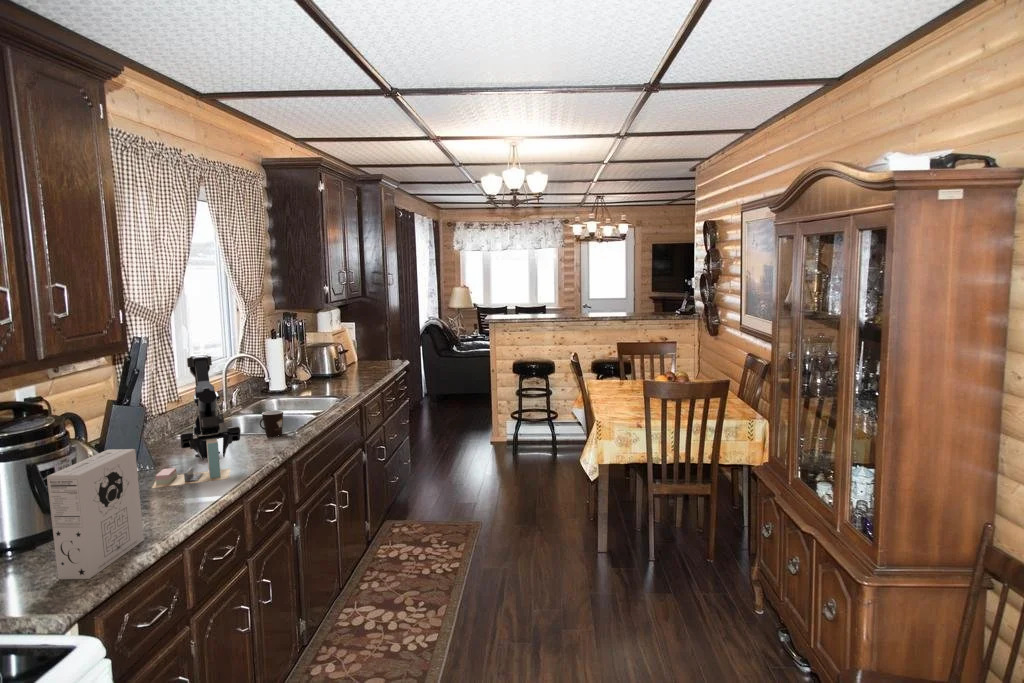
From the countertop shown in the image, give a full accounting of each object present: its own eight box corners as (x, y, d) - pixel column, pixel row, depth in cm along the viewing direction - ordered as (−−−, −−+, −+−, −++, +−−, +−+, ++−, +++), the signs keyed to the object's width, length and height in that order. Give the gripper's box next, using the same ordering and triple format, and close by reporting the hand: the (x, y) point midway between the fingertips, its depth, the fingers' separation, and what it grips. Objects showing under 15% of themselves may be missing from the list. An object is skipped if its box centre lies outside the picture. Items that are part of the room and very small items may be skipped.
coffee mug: (279, 431, 285) (277, 409, 284) (288, 434, 279) (286, 412, 278) (253, 437, 277) (251, 414, 276) (261, 440, 271) (260, 417, 270)
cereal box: (116, 540, 173) (107, 449, 170) (144, 540, 173) (135, 448, 170) (57, 580, 151) (45, 475, 148) (89, 579, 151) (78, 475, 148)
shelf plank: (151, 491, 211) (151, 488, 211) (158, 480, 222) (157, 477, 222) (228, 482, 218) (228, 478, 218) (231, 471, 230) (230, 468, 230)
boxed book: (208, 473, 224) (206, 439, 223) (219, 472, 226) (216, 438, 224) (210, 478, 219) (207, 443, 217) (220, 477, 220) (217, 442, 219)
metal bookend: (191, 475, 223) (190, 467, 222) (202, 474, 223) (202, 466, 223) (184, 482, 216) (184, 473, 216) (197, 481, 217) (196, 472, 216)
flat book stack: (164, 477, 222) (163, 468, 221) (177, 476, 222) (176, 467, 222) (156, 484, 214) (155, 476, 213) (169, 483, 215) (168, 475, 214)
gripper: (177, 410, 219) (182, 450, 210) (237, 403, 228) (243, 441, 219) (179, 428, 226) (183, 467, 218) (236, 421, 235) (242, 458, 227)
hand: (213, 458), depth 220 cm, fingers open, 6 cm apart
